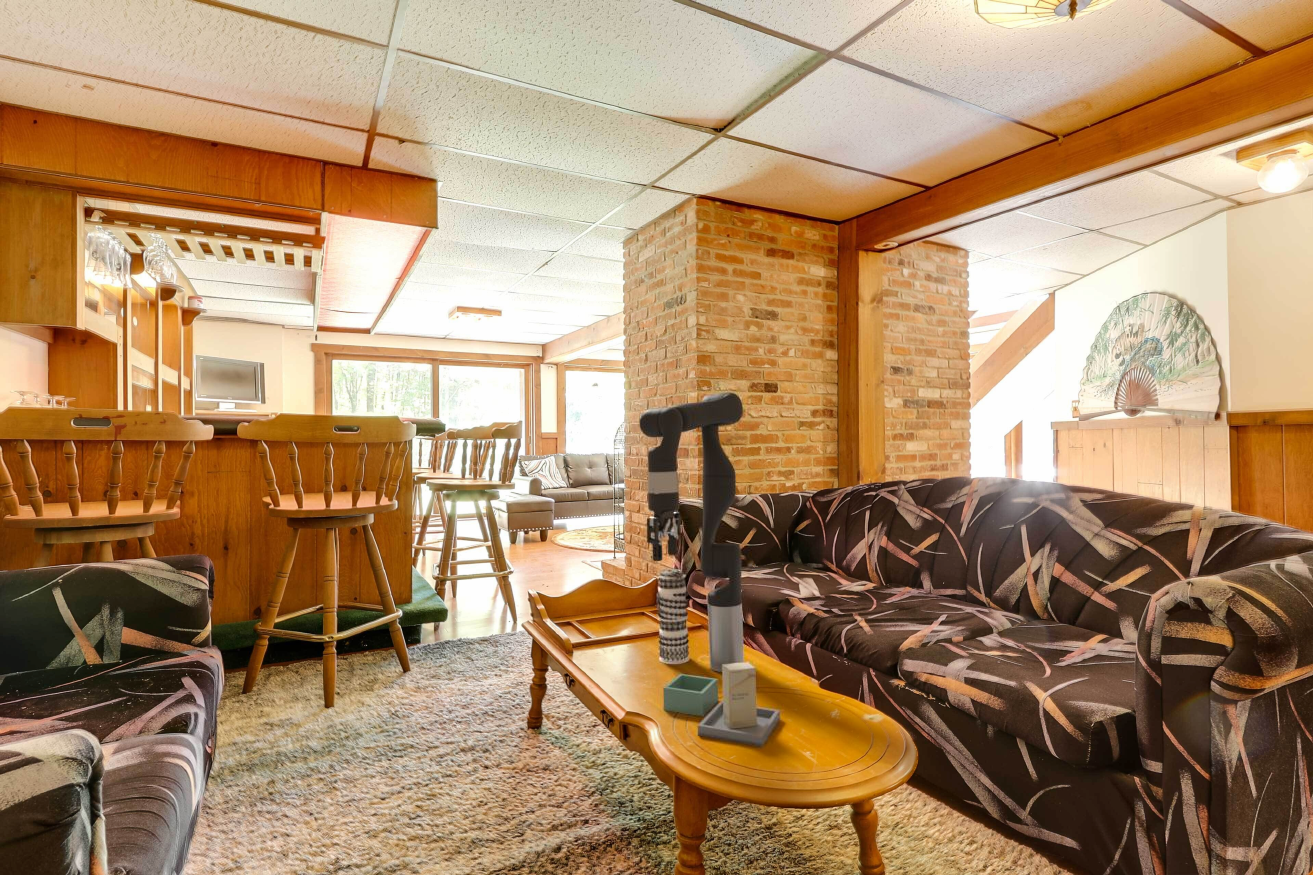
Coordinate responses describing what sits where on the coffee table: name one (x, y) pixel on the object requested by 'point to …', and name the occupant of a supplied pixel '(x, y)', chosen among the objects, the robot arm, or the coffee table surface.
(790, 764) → the coffee table surface
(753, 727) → the tray
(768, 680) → the coffee table surface
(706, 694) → the teal square open box
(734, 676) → the skincare box
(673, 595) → the decorative candle
